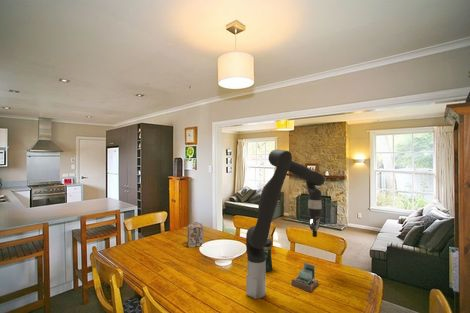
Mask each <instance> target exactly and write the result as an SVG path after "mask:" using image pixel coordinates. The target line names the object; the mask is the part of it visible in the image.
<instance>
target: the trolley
mask: <svg viewBox="0 0 470 313" xmlns="http://www.w3.org/2000/svg"><path fill="white" fill-rule="evenodd" d="M315 267H316V266H315V264H314V265H313V264H310V263H307V262H303V268H302V269H301V270H300V271H299V272H298V276H299V279H298V280H297V281H300V282H302V283H305V284H308V285H310V284H311V283H313V282H314V281H315V280H316V279H315V278H316V268H315Z"/></svg>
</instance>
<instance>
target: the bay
mask: <svg viewBox="0 0 470 313" xmlns="http://www.w3.org/2000/svg"><path fill="white" fill-rule="evenodd" d="M298 279H299V275H297V276H296V277H295V278H292V279H291V286H293V287H295V288H298V289H300V290H302V291H305V292H309V293H312V291H314V289H315V288H316V287H317V286H318V285H319V280H318V279H315V280H314V282H313V283H311V284H310V285H308V284H305V283H302V282H300V281H297V280H298Z"/></svg>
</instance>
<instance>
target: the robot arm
mask: <svg viewBox="0 0 470 313" xmlns="http://www.w3.org/2000/svg"><path fill="white" fill-rule="evenodd" d="M268 162H269V163H270V165H271V166H273V167H275V170H274V173H273V175H272V177H271V178H270V179H269V180H268V181H267V183H266V184H265V185H264V186H263V187H262V190H261V193H260V197H259V199H258V206H257V207H258V209H257V210H258V212H257V220H256V223H255V225H253V226H251V227H249V228H248V229H247V231H246V235H245V244H246V245H245V246H246V248H245V249H246V250H245V251H246V256H247V270H246V271H247V275H246V278H245V280H246V281H245V282H246V291H245V292H246V293H245V294H246V296H249V297H251V298H252V299H253V300H254V299H255V300H258V299H262V298H264V297H265V296H266V294H267V292H266V289H267V288H266V287H267V286H266V280H267V279H266V275H267V274H266V273H267V271H266V255H265V252H264V248H263V247H264V246H265V245H266V243H267V240H268V239H269V234H270V229H271V226H272V225H271V224H272V221H273V218H274V214H275V212H276V208H277V205H278V202H279V199H280V195H281V191H282V188H283V186H284V182H285V180H286V177H287V175H288V172H289V173H291V174H293V175H294V176H296V177H298V178H300V179H302V180H303V181H305V183H306V187H307V192H308V203H307V206H308V208H307V209H308V210H307V212H308V213H307V214H308V215H309V216H310V220H309V222H308V226H309V228H310V230H311V231H312V237H313V238H317V237H318V230H319V228H320V226H321V222H322V220H321V219H320V217H321V216H322V213H323V212H322V207H323V206H322V191H321V190H320V189H318V188H316V186H317V187H318V186H319V187H320V186H323V185H324V183H325V177H324V175H323V174H321V173H320V172H318V171H314V170H312V169H310V168H309V167H307V166H305V165H304V164H301V163H298V162H296V161H293V155H292V153H291V152H290V151H289V150H284V149H273V150H271V151H270V152H269V154H268Z"/></svg>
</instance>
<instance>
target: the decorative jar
mask: <svg viewBox="0 0 470 313" xmlns="http://www.w3.org/2000/svg"><path fill="white" fill-rule="evenodd" d="M204 230H205V229H204V225H203V224H202V223H200V222H199V221H192V222H191V223H189V224H188V225H187V236H186V237H187V246H188V248H189V247H192V248H196V247H195V246H200V245H202V244H203V243H204V242H205V238H204V237H205V233H204V232H205V231H204Z"/></svg>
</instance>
